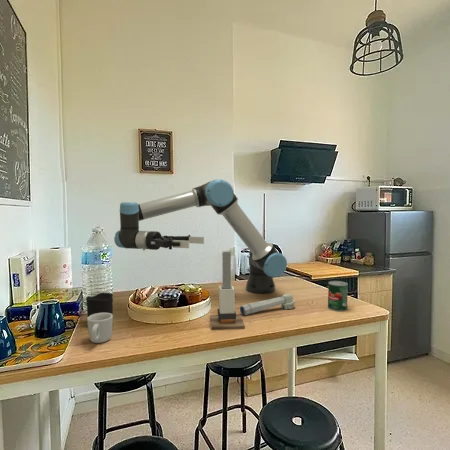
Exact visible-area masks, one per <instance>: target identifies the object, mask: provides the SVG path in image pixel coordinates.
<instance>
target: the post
mask: <svg viewBox="0 0 450 450" xmlns="http://www.w3.org/2000/svg"><path fill="white" fill-rule="evenodd" d="M221 253H222V254H221V255H222V264H221V265H222V266H221V267H222V271H221V272H222V276H221V277H222V286H223V289H231V286H232V284H231V283H232V282H231V281H232V280H231V279H232V278H231V276H232V275H231V274H232V273H231V271H232V270H231V267H232V264H231V259H232V258H231V251H222V252H221ZM220 321H221V323H234V319H223V320H220Z"/></svg>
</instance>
